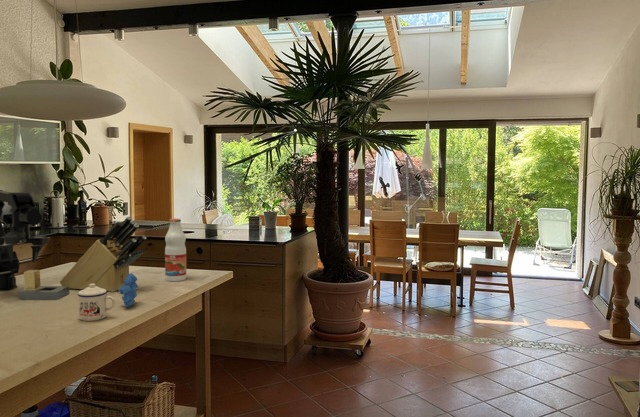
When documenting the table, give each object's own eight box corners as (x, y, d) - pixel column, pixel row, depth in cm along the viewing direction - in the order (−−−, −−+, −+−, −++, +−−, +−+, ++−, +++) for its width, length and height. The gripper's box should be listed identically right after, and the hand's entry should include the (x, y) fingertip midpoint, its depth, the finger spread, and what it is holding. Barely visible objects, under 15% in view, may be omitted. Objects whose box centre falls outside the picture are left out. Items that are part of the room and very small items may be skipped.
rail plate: (18, 299, 197) (18, 291, 197) (32, 293, 207) (32, 285, 207) (57, 299, 197) (57, 291, 197) (69, 293, 207) (69, 285, 207)
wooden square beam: (24, 289, 200) (23, 271, 199) (30, 287, 204) (29, 269, 203) (34, 289, 200) (34, 272, 199) (40, 287, 204) (39, 269, 203)
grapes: (123, 301, 195) (123, 270, 194) (141, 301, 196) (141, 270, 195) (113, 310, 184) (112, 277, 183) (132, 309, 184) (131, 277, 183)
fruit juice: (189, 277, 239) (189, 218, 236) (181, 282, 229) (180, 220, 227) (170, 276, 240) (169, 217, 238) (161, 281, 231) (160, 219, 228)
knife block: (134, 293, 207) (133, 218, 205) (59, 289, 214) (56, 216, 212) (149, 287, 218) (148, 215, 216) (76, 283, 225) (74, 213, 223)
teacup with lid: (74, 321, 170) (73, 287, 169) (84, 313, 179) (83, 281, 178) (111, 321, 171) (110, 286, 170) (119, 313, 180) (118, 280, 179)
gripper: (-16, 225, 195) (-14, 265, 196) (33, 225, 196) (35, 266, 197) (2, 222, 206) (3, 260, 208) (48, 222, 207) (49, 260, 208)
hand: (22, 262), depth 205 cm, fingers open, 9 cm apart
